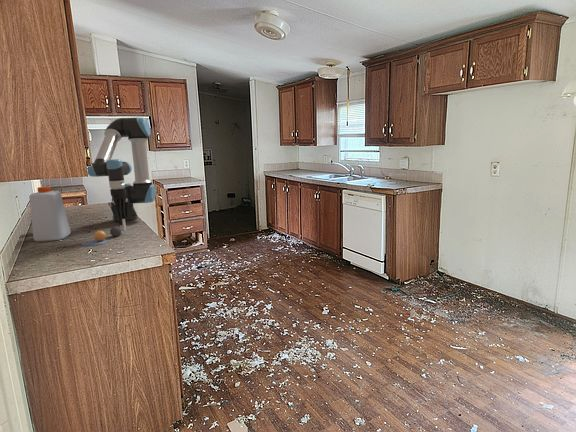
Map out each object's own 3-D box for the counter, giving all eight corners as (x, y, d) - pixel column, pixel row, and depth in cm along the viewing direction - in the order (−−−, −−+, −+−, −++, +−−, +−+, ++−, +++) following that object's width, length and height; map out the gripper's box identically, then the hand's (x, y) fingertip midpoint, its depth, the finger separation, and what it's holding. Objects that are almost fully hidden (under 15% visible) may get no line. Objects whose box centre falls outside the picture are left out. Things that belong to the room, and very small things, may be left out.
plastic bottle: (31, 242, 188) (20, 189, 182) (44, 235, 203) (35, 186, 197) (62, 240, 191) (53, 188, 185) (73, 233, 206) (65, 184, 200)
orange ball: (99, 236, 190) (90, 238, 185) (102, 227, 189) (93, 229, 184) (106, 242, 189) (97, 244, 184) (109, 233, 187) (100, 235, 182)
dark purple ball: (112, 225, 197) (111, 235, 197) (109, 225, 192) (108, 236, 191) (122, 226, 198) (121, 236, 198) (120, 226, 193) (119, 237, 192)
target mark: (80, 242, 185) (79, 242, 185) (105, 238, 192) (105, 237, 192) (83, 247, 176) (83, 247, 175) (110, 242, 183) (110, 242, 182)
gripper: (112, 190, 188) (119, 233, 193) (132, 186, 199) (137, 228, 204) (102, 189, 191) (108, 232, 196) (122, 186, 202) (127, 227, 207)
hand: (123, 230), depth 200 cm, fingers closed
